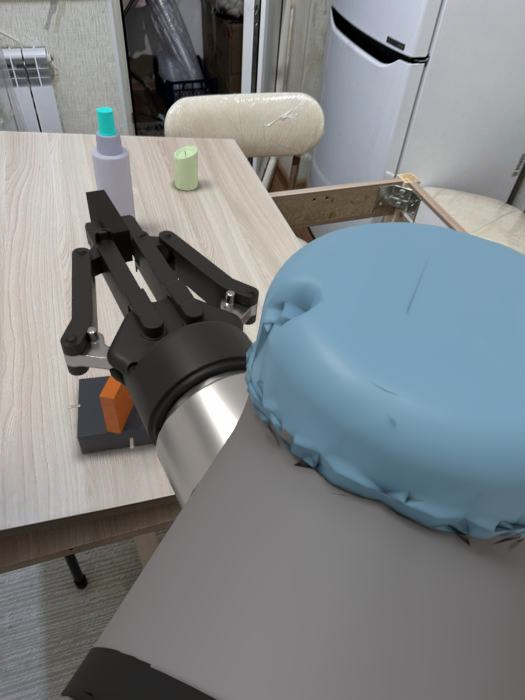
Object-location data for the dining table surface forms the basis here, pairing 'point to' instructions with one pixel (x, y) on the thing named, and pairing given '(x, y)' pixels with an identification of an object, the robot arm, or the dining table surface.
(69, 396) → the dining table surface
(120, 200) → the spray bottle
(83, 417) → the dark square tile
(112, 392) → the orange toy brick
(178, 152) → the candle
